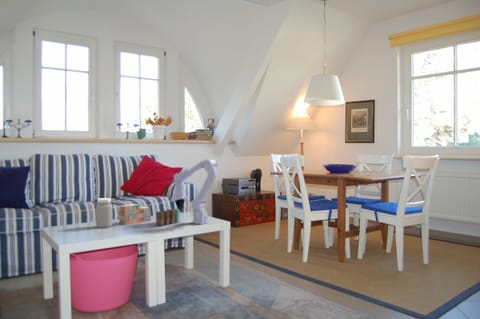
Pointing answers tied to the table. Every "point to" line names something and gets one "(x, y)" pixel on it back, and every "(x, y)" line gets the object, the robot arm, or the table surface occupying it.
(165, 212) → the domino
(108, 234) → the table surface
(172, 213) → the domino
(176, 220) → the domino
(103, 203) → the jar
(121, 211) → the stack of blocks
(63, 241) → the table surface
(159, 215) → the domino
